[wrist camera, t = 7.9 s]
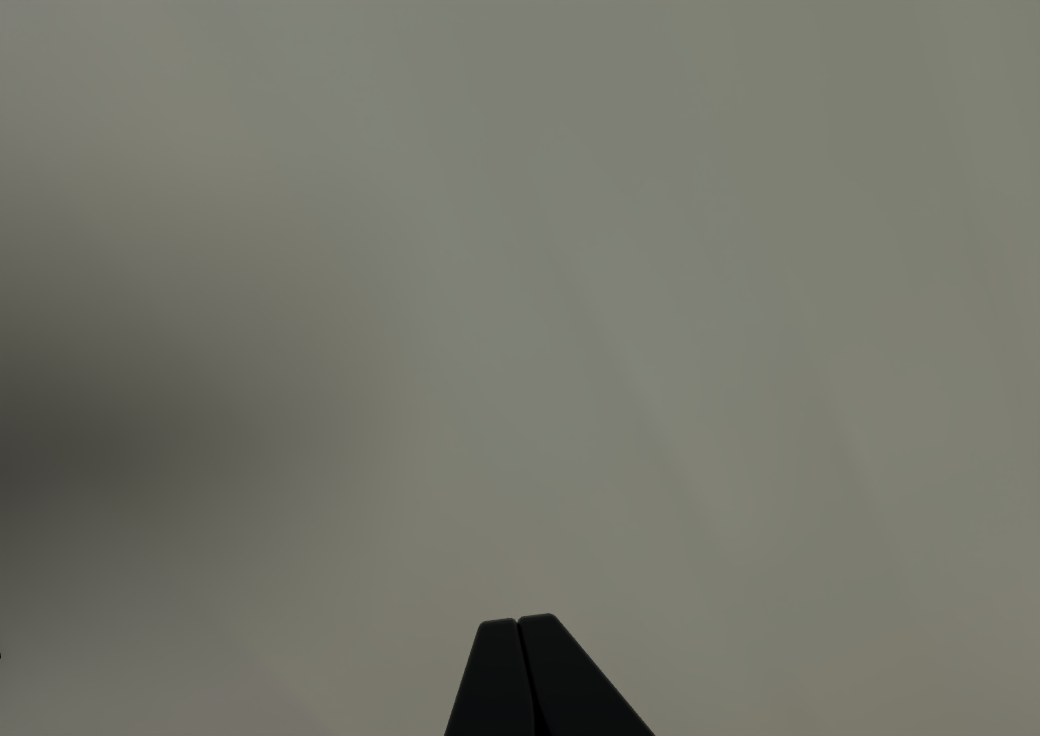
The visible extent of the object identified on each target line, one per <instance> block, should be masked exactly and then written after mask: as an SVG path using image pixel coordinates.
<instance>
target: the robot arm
mask: <svg viewBox="0 0 1040 736" xmlns="http://www.w3.org/2000/svg"><path fill="white" fill-rule="evenodd" d="M0 659H1V654H0ZM444 736H655V734H654V733H653V732H652V731H651V730H650V729H649V727H648V726H647V725H646V724H645V723H644V721H643V720H642V719H641V718H640V717H639V715H638V714H637V713H636V712H635V711H634V709H633V708H632V707H631V706H630V705H629V703H628V702H627V701H626V700H625V699H624V697H623V696H622V695H621V694H620V693H619V691H618V690H617V689H616V688H615V687H614V685H613V684H612V683H611V682H610V681H609V679H608V678H607V677H606V676H605V675H604V673H603V672H602V671H601V670H600V669H599V667H598V666H597V665H596V664H595V663H594V661H593V660H592V659H591V658H590V657H589V655H588V654H587V653H586V652H585V651H584V650H583V648H582V647H581V646H580V645H579V644H578V642H577V641H576V640H575V639H574V638H573V636H572V635H571V634H570V633H569V632H568V630H567V629H566V628H565V627H564V626H563V624H562V623H561V622H560V621H559V620H558V619H557V617H556V616H554V615H553V614H550V613H546V614H538V615H530V616H523V617H521V618H520V619H519V620H518V622H516V621H515V619H513V618H506V619H498V620H490V621H484V622H482V623H481V624H480V626H479V627H478V630H477V633H476V636H475V639H474V643H473V646H472V649H471V652H470V655H469V658H468V662H467V665H466V668H465V671H464V674H463V677H462V680H461V684H460V687H459V690H458V693H457V696H456V699H455V703H454V706H453V709H452V712H451V715H450V718H449V721H448V725H447V728H446V731H445V734H444Z"/></svg>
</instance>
